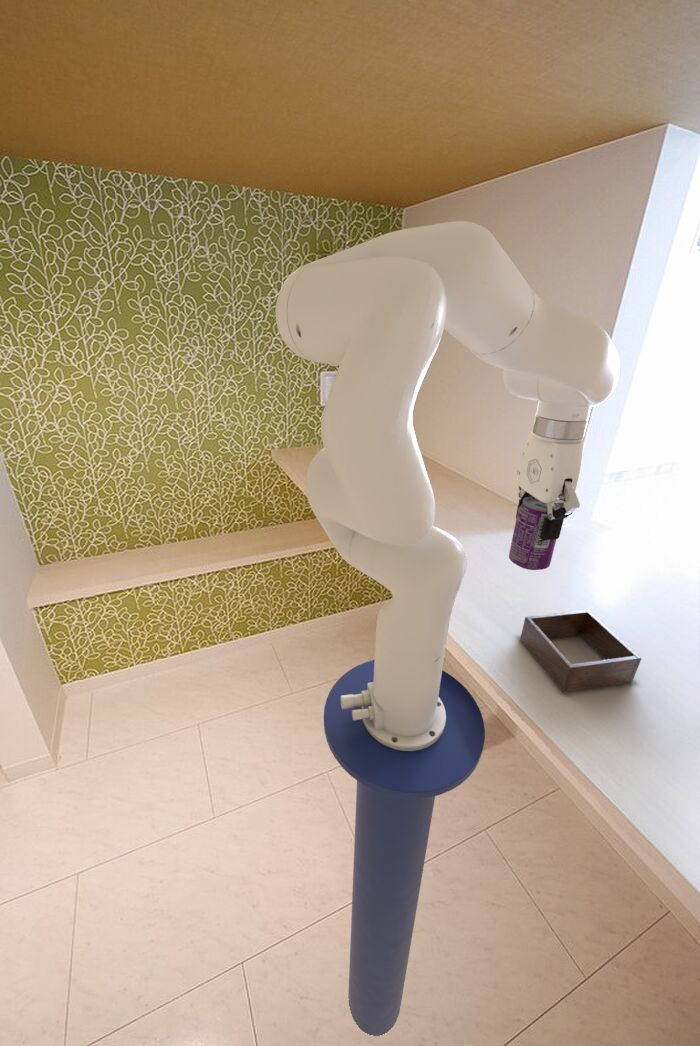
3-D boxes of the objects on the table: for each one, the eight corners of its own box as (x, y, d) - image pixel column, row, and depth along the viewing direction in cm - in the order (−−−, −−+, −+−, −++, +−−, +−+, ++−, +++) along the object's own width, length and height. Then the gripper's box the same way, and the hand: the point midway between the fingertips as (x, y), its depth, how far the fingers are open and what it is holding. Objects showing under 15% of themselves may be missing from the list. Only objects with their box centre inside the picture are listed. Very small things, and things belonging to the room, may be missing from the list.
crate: (562, 692, 67) (570, 668, 65) (519, 639, 78) (525, 616, 76) (632, 682, 69) (642, 658, 67) (581, 631, 80) (588, 609, 78)
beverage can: (555, 563, 80) (571, 503, 74) (539, 578, 75) (554, 515, 70) (518, 549, 84) (530, 492, 79) (501, 562, 79) (512, 502, 74)
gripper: (509, 417, 76) (492, 510, 83) (572, 443, 60) (545, 554, 68) (547, 416, 77) (528, 507, 85) (619, 442, 62) (587, 551, 69)
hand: (536, 527), depth 76 cm, fingers closed on beverage can, 7 cm apart
